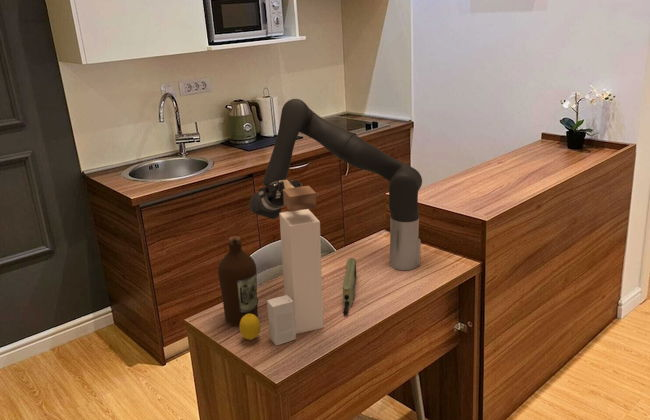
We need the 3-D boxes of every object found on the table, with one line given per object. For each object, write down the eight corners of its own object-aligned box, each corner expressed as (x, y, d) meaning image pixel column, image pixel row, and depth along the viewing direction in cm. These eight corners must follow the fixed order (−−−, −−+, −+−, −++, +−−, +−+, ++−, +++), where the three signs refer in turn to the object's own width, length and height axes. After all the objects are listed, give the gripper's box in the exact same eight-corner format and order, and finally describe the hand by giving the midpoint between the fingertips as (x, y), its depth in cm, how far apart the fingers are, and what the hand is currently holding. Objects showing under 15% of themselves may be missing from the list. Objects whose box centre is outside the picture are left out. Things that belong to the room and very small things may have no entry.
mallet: (295, 185, 164) (294, 171, 163) (316, 207, 148) (316, 193, 146) (271, 188, 162) (270, 175, 160) (290, 211, 146) (289, 196, 144)
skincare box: (289, 332, 159) (287, 293, 155) (296, 339, 156) (294, 301, 151) (269, 338, 156) (266, 299, 152) (275, 346, 153) (272, 307, 149)
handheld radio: (358, 276, 189) (351, 317, 165) (347, 276, 189) (340, 317, 166) (357, 257, 186) (350, 296, 163) (346, 257, 187) (338, 296, 164)
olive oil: (215, 318, 166) (206, 239, 157) (243, 303, 174) (236, 227, 165) (240, 331, 160) (232, 250, 151) (267, 315, 167) (262, 236, 158)
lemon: (244, 347, 153) (241, 321, 150) (238, 336, 158) (235, 311, 155) (264, 342, 155) (262, 316, 152) (257, 331, 160) (255, 306, 157)
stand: (311, 310, 169) (307, 208, 158) (323, 327, 160) (319, 221, 149) (285, 315, 167) (279, 212, 155) (295, 333, 158) (290, 226, 146)
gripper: (250, 187, 172) (260, 173, 156) (295, 180, 176) (309, 167, 160) (255, 211, 171) (265, 200, 155) (299, 204, 176) (314, 193, 159)
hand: (288, 183), depth 158 cm, fingers closed on mallet, 2 cm apart
